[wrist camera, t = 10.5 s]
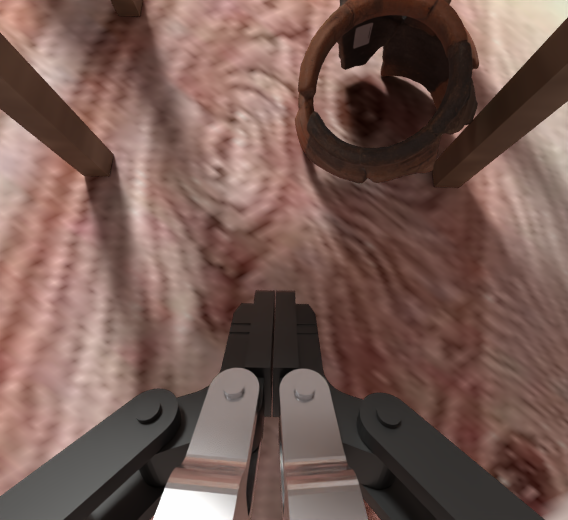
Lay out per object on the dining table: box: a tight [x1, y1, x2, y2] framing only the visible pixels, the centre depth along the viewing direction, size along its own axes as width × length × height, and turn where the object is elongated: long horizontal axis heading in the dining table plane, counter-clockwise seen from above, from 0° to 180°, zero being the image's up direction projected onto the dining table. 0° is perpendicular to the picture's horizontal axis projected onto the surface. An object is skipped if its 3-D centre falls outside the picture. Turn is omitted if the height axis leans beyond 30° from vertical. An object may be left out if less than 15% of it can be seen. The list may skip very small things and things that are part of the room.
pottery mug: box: [295, 0, 479, 183], centre depth 16 cm, size 12×9×8 cm
